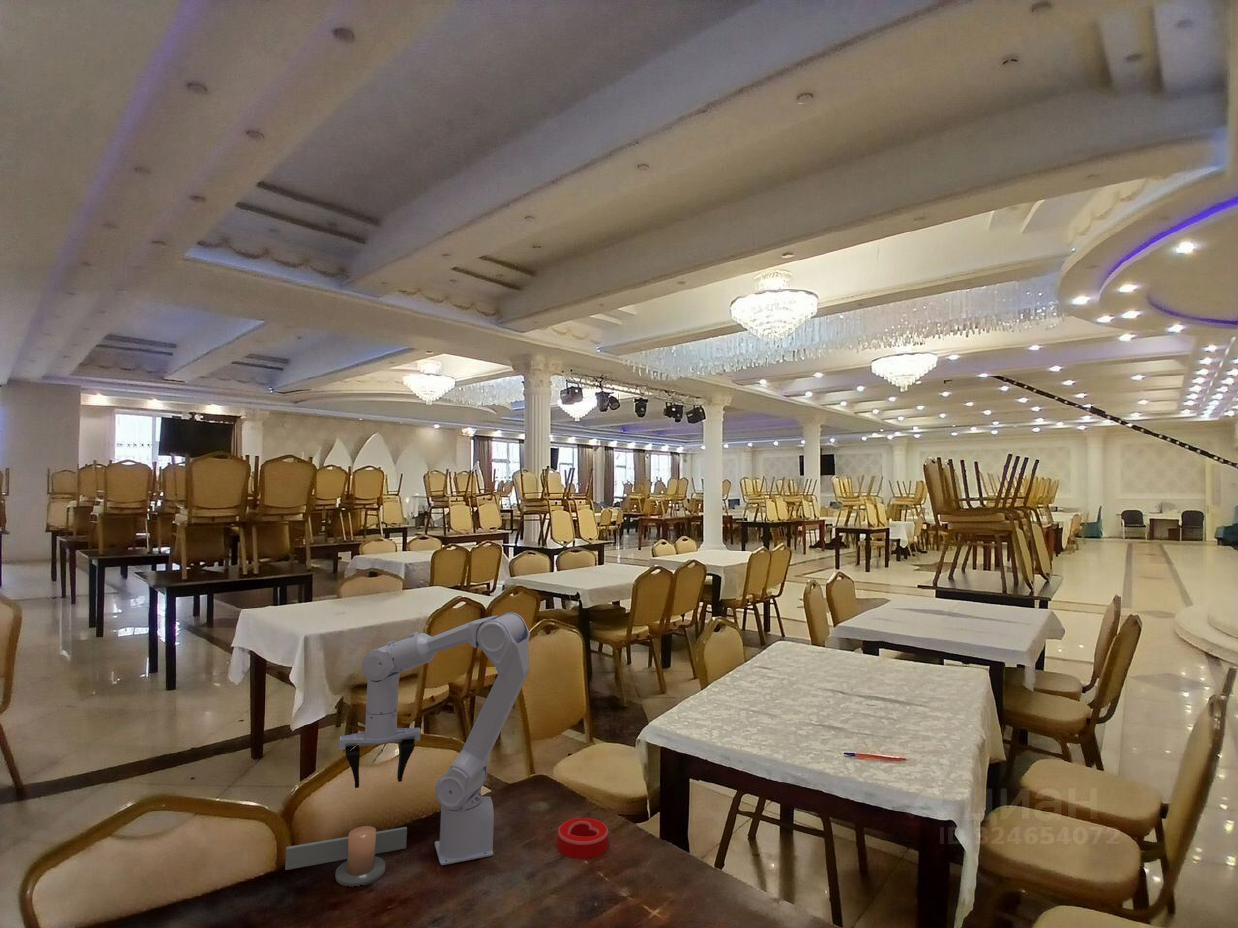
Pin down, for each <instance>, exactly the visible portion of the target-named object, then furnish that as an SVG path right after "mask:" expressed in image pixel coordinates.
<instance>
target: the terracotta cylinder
mask: <svg viewBox="0 0 1238 928" xmlns="http://www.w3.org/2000/svg"><path fill="white" fill-rule="evenodd" d="M376 832H377V829H376V828H375V827H374V826H371V825H362V826H358V827H355V828H353V829H351V830H350V831H349V833H348V837H349V839H348V859H347V860H346V861H347V872H348V874H350V875H354V876H359V875H364V874H367V873H369V872H370V871H372V870H373V869H374V865H375V856H376V854H375V842H376Z"/></svg>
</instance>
